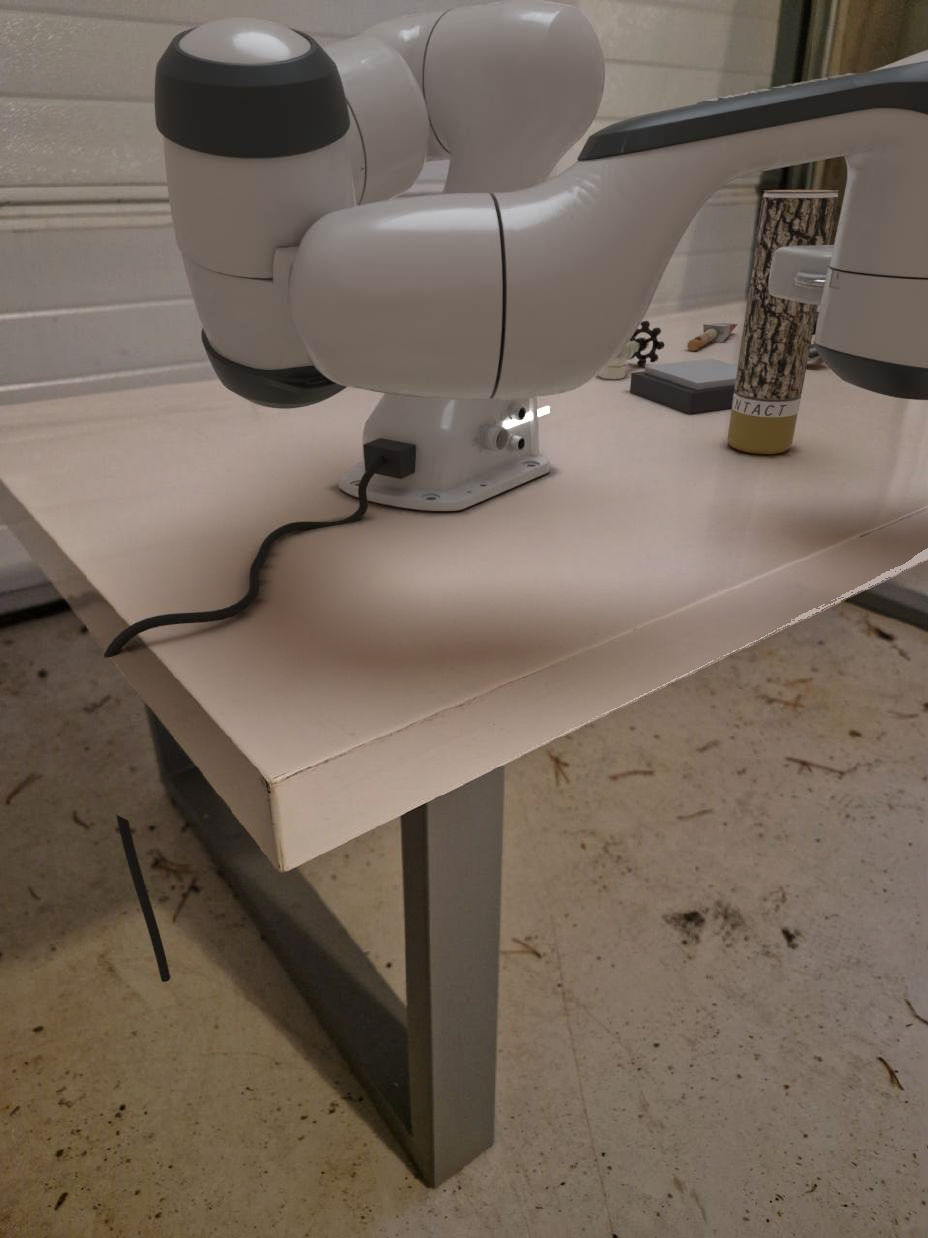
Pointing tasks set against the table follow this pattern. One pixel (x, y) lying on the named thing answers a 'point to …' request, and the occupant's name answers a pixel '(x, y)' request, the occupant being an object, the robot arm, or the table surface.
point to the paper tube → (777, 325)
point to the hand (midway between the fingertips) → (855, 261)
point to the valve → (634, 352)
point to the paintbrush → (711, 334)
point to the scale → (688, 385)
